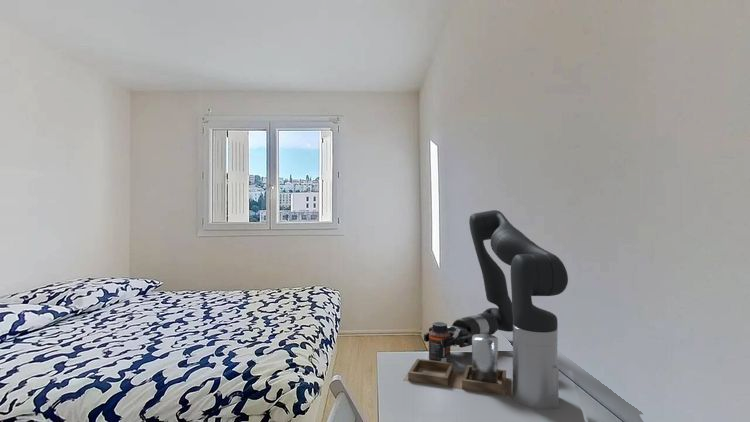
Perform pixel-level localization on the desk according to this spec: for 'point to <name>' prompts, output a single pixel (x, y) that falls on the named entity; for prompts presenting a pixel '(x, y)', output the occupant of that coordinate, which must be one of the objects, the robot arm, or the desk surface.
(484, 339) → the seated can
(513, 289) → the robot arm
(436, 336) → the supplement bottle
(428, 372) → the wooden double tray
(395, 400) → the desk surface
